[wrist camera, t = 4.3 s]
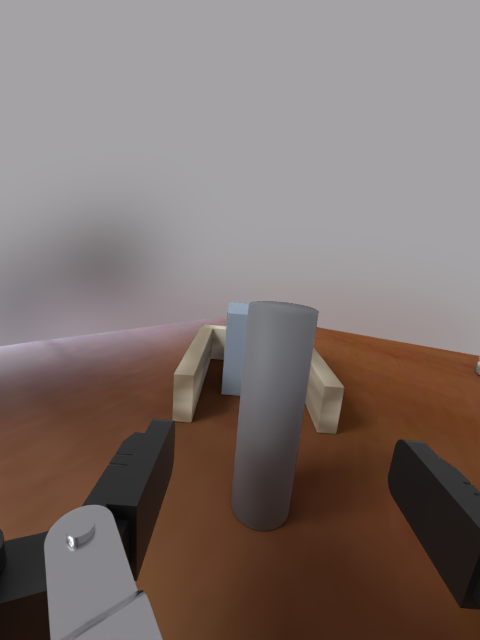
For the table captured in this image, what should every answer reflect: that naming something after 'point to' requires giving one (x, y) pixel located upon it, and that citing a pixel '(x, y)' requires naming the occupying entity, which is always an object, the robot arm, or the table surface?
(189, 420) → the frame
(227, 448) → the table surface
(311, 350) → the block
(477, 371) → the travel mug
